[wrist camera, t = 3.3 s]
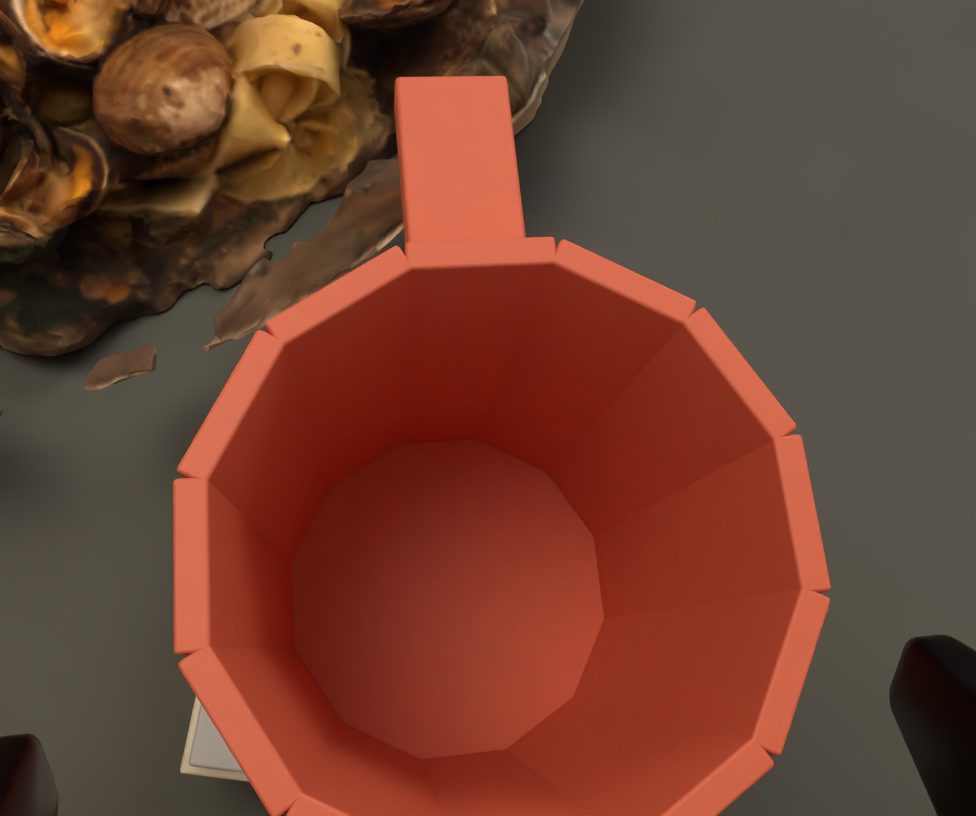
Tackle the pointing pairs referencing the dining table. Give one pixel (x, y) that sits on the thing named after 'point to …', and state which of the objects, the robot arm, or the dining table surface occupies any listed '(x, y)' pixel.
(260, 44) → the food dish
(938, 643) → the robot arm
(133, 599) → the dining table surface
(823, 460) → the dining table surface
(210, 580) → the red mug
